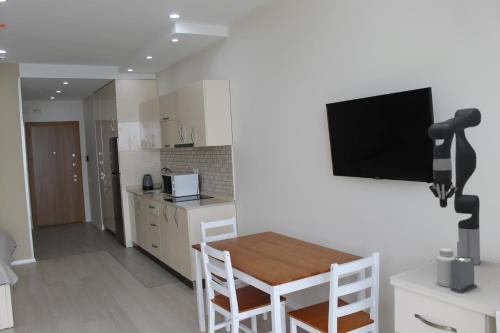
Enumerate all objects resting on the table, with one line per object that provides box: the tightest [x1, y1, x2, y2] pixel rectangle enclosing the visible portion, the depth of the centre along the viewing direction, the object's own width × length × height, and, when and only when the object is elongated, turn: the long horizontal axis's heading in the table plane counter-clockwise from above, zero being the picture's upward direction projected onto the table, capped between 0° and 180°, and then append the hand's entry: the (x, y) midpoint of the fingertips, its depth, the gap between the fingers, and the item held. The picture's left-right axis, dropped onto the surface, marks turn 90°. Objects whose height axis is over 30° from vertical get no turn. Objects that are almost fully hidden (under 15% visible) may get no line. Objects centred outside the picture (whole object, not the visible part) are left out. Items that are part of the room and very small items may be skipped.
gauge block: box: [450, 255, 478, 295], centre depth 177 cm, size 6×11×13 cm, turn 123°
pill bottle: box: [436, 247, 456, 288], centre depth 183 cm, size 8×8×15 cm
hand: (443, 207), depth 192 cm, fingers closed
